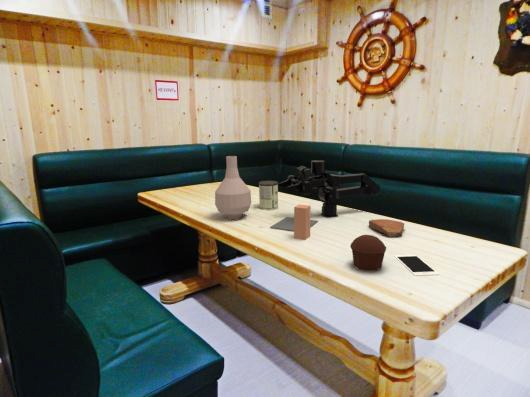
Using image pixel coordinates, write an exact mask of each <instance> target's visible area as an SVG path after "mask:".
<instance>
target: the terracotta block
mask: <svg viewBox="0 0 530 397" xmlns="http://www.w3.org/2000/svg"><path fill="white" fill-rule="evenodd" d="M293 215H294V216H293V218H294V232H293V236H294V237H293V238H294V239H297V240H303V241H304V240H307V239H308V238H310V237H311V228H310V220H311V205H309V204H308V205H307V204H301V203H300V204H297V205H295V206H294V208H293Z"/></svg>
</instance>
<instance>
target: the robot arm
mask: <svg viewBox="0 0 530 397" xmlns="http://www.w3.org/2000/svg"><path fill="white" fill-rule="evenodd" d="M310 163H311V164H310V166H311V167H310V168H308V167H306V166H305V165H300V166H299V167H296V169H295V170H296V172H297V175H298V176H297V177H296V176H295V175H292V174H291V175H288V176H287V178H286V180H284V181H282V182H278V187H280V188H285V190H287V191H290V192H293V193H296V194H300V195H304V196H307V195H310V193H311V191H313V190H314V189H318V193H317V194H318V197H319V199H320V201H321V202H322V206H321V213H320V215H321V216H323V217H325V218H334V217H339V215H338V209H337V208H338V205H339V203H340V200H339V199H340V198H345V197H346V198H347V197H351V196H353V197H354V196H358V195H369V196H377V195H379V194H380V191H381V186H380V185H379V184H378V183H377V182H376V181H374V180H373V179H371V177H369V175H367V174H366V173H362V172H360V173H353V174H352V173H351V174H343V175H340V174H339V175H338V174H330V173H329V172H326V160H316V159H315V160H311V161H310ZM311 174H313V176H310V175H311ZM351 183H352V184H353V183H354V184H355V183H359V184H360V185H357V186H350V187H343V188H338V186H341V185H343V184H345V185H346V184H351Z"/></svg>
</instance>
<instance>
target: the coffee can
mask: <svg viewBox="0 0 530 397" xmlns="http://www.w3.org/2000/svg"><path fill="white" fill-rule="evenodd" d="M278 184H279V181H276V180H261V181H259V182H258V190H259V193H258V194H259V195H258V197H259V209H260V210H263V211H273V210H277V209H279V191H278V190H279V189H278V188H279V186H278Z"/></svg>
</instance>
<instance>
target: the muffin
mask: <svg viewBox="0 0 530 397" xmlns="http://www.w3.org/2000/svg"><path fill="white" fill-rule="evenodd" d="M350 248H351V253H352V260H353V261H352V262H353V267H355V268H357V269H358V270H360V271H365V272H375V271H376V272H377V271H378V270H381V269H382V265H383V262H384V257H385V253H386V251H387V246H386V245H385V244H384V242H383V240H381V239H380V238H378V237H377V236H375V235H373V234H362V235H360V236H358V237H357V236H356V238H354V240H353V241H351V243H350Z"/></svg>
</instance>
